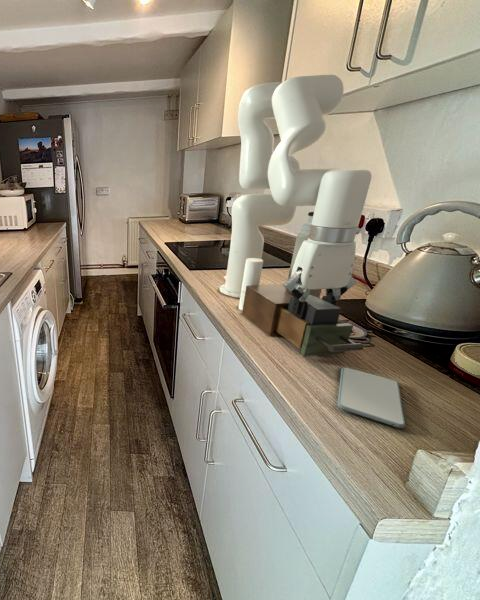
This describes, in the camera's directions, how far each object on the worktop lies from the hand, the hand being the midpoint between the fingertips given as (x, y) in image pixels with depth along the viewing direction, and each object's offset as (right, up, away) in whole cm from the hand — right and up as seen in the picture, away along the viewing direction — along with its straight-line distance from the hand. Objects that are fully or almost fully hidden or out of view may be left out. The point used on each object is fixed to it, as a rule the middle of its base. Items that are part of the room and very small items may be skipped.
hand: (311, 314), depth 71 cm
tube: (-2, 0, +23) cm, 23 cm away
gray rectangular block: (0, 0, 0) cm, 0 cm away
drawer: (0, -7, 0) cm, 7 cm away
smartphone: (-1, -14, -15) cm, 20 cm away
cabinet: (0, -3, +14) cm, 14 cm away
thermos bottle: (+10, -1, +19) cm, 21 cm away
